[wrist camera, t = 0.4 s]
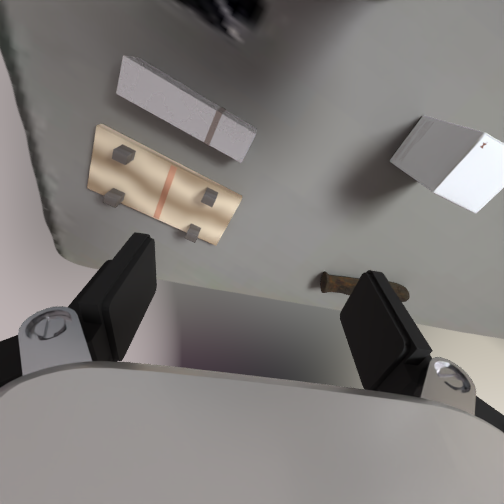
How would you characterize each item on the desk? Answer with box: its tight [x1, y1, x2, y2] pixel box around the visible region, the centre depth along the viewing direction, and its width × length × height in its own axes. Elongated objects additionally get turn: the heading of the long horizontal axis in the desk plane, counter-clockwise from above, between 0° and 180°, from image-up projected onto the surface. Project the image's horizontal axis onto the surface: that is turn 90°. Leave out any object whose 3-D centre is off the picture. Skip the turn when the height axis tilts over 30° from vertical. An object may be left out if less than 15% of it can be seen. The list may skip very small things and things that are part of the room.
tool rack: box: [87, 124, 242, 245], centre depth 42 cm, size 11×24×4 cm, turn 62°
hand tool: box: [320, 272, 409, 302], centre depth 54 cm, size 19×4×5 cm, turn 80°
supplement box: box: [390, 115, 504, 213], centre depth 34 cm, size 7×7×13 cm
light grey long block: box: [116, 55, 257, 163], centre depth 35 cm, size 4×18×4 cm, turn 62°
